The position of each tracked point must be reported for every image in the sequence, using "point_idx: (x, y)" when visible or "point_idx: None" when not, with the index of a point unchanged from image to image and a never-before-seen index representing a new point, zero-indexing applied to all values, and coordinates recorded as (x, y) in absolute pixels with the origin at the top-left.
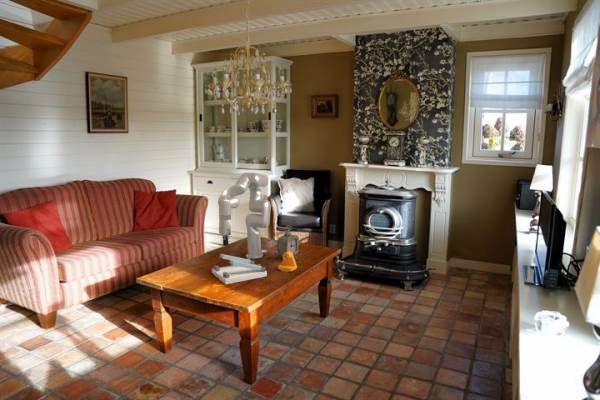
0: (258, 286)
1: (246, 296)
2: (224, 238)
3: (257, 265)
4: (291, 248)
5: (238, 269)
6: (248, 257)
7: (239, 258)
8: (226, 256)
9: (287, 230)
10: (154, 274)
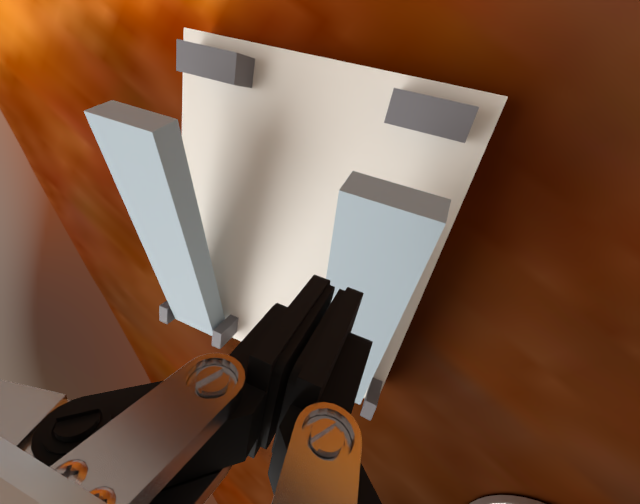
0: (101, 168)
1: (12, 22)
2: (184, 383)
3: (208, 323)
4: None
5: (307, 248)
6: (528, 502)
7: None
8: (335, 223)
9: None
10: None
